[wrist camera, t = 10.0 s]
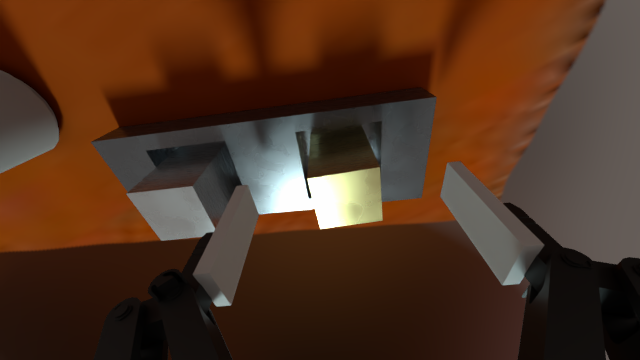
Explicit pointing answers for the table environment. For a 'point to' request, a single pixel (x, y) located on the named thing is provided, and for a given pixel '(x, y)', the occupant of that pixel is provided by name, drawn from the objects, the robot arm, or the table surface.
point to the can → (23, 123)
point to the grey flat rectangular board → (288, 144)
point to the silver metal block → (187, 191)
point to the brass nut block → (344, 178)
